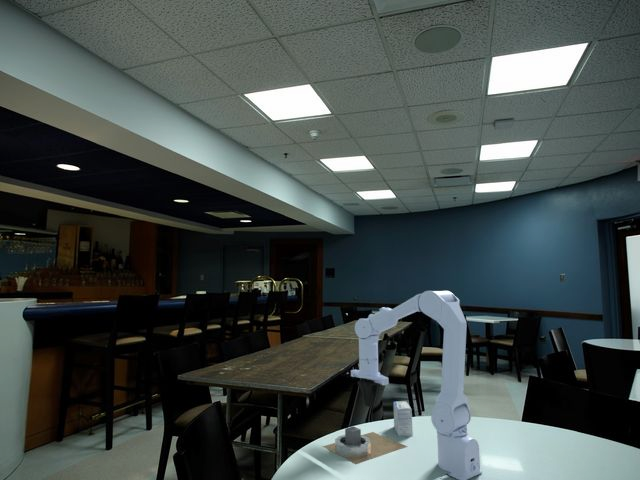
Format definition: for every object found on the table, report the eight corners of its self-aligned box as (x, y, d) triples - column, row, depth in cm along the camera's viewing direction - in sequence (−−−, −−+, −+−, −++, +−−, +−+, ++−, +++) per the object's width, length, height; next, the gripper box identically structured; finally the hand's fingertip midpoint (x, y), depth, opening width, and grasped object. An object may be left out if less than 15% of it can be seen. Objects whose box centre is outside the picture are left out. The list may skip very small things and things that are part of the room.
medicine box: (413, 438, 119) (412, 408, 120) (398, 438, 119) (397, 408, 120) (407, 429, 127) (407, 401, 128) (393, 429, 127) (393, 401, 128)
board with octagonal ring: (407, 449, 111) (407, 437, 111) (355, 467, 100) (355, 453, 100) (372, 434, 122) (372, 423, 122) (323, 449, 111) (322, 436, 111)
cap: (367, 450, 108) (367, 429, 109) (352, 456, 105) (352, 434, 105) (353, 444, 112) (353, 424, 113) (338, 449, 109) (338, 428, 110)
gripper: (395, 360, 117) (396, 409, 115) (362, 354, 128) (363, 397, 127) (378, 363, 112) (379, 413, 111) (345, 356, 124) (345, 401, 123)
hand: (369, 405), depth 118 cm, fingers closed
